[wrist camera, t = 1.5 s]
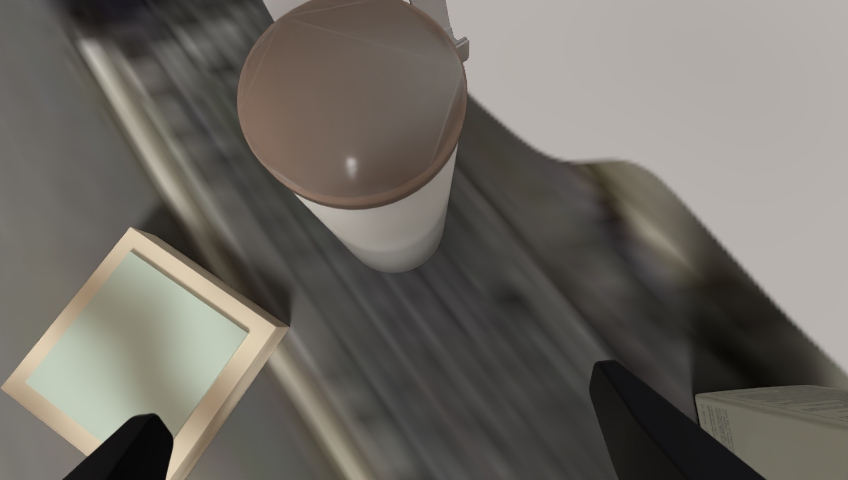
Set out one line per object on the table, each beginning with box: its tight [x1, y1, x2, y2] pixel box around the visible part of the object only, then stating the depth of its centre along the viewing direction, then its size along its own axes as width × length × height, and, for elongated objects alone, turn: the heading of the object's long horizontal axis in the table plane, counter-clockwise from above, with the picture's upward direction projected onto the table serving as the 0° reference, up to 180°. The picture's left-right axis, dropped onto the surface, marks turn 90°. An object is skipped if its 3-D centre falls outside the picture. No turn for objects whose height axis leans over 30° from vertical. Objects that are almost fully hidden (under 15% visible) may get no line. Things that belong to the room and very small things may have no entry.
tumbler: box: [237, 0, 467, 273], centre depth 16 cm, size 6×6×13 cm
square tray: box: [1, 227, 290, 480], centre depth 20 cm, size 9×9×2 cm
